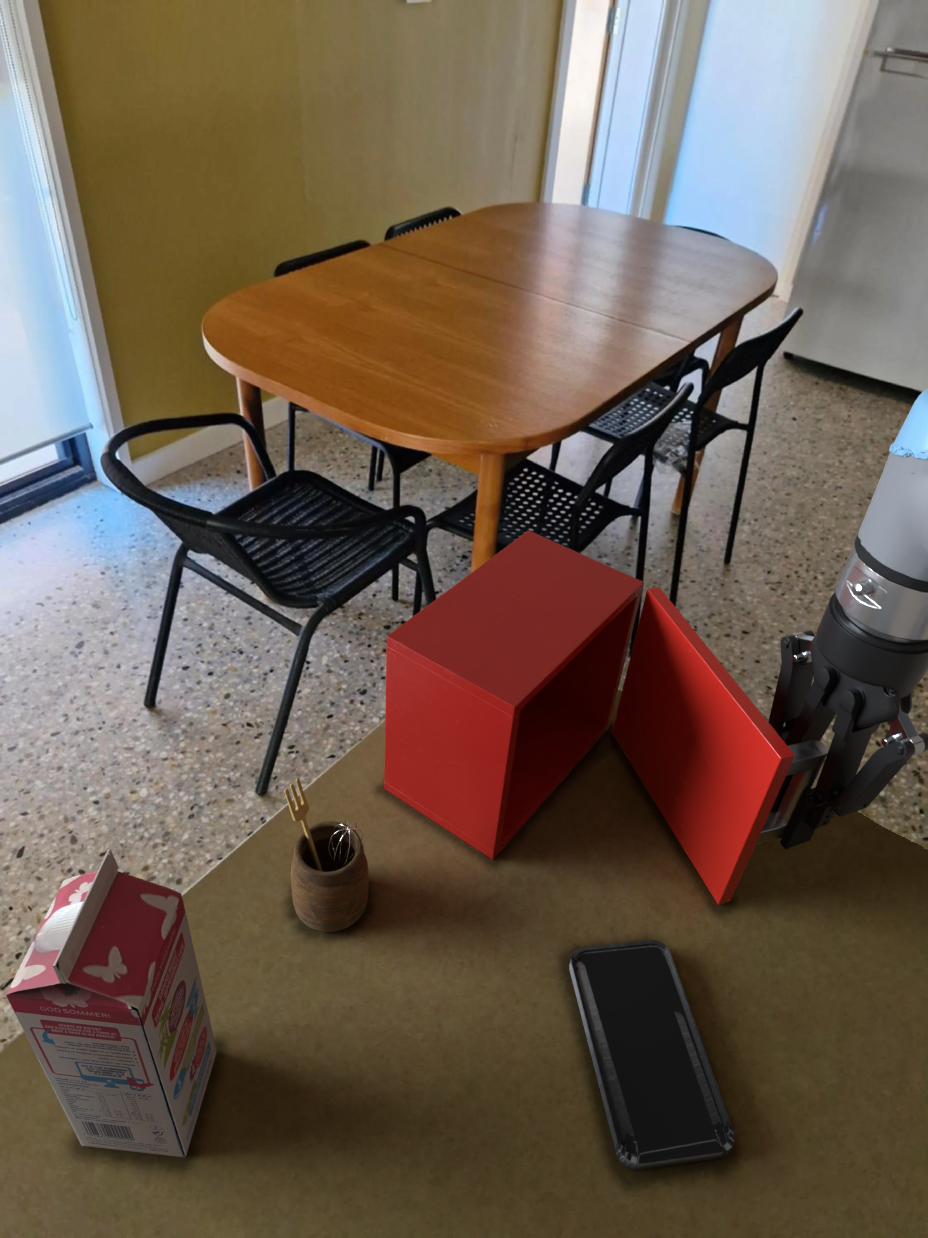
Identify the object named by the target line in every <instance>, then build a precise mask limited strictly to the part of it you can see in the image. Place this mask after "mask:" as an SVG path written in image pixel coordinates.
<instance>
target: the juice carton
mask: <svg viewBox="0 0 928 1238" xmlns="http://www.w3.org/2000/svg"><path fill="white" fill-rule="evenodd" d="M183 899H184V898H183V895H182V893H181V892H180V891H178V890H175V889H172V888H170V887H167V886H164V885H161V884H158V883H155V882H152V881H149V880H146V879H143V878H139V877H137V876H134V875H132V874H131V875H130V874H128V873H125V872H122V871H119V865H118V863H117V860H116V858H115V856H114V854H113V851H112V849H107V851H106V852H105V855H104V857H103V859H102V860H101V863H100V866H99V868H98V870H97V871H93V872H88V873H83V874H79V875H74V876H71V877H70V878H66V879H64V880H63V881H62V882H61V885H60V886H59V889H58V891H57V892H56V895H55V896H54V899H53V901H52V902H51V905H50V906H49V908H48V911H47V912H46V914H45V917H44V918H43V920H42V922H41V924H40V926H39V928H38V930H37V932H36V934H35V936H34V938H33V940H32V942H31V944H30V946H29V948H28V949H27V952H26V954H25V955H24V958H23V960H22V962H21V964H20V966H19V967H18V969H17V972H16V974H15V975H14V977H13V980H12V981H11V984H10V985H9V987H8V989H7V991H6V994H5V996H6V999H7V1000H8V1002H9V1005H10V1006H11V1008H12V1010H13V1012H14V1014H15V1017H16V1019H17V1020H18V1023H19V1024H20V1027H21V1028H22V1030H23V1032H24V1034H25V1036H26V1038H27V1040H28V1042H29V1044H30V1046H31V1048H32V1050H33V1052H34V1054H35V1057H36V1058H37V1060H38V1062H39V1064H40V1067H41V1068H42V1070H43V1072H44V1074H45V1077H46V1079H47V1080H48V1082H49V1084H50V1086H51V1088H52V1090H53V1092H54V1094H55V1096H56V1098H57V1100H58V1102H59V1104H60V1106H61V1108H62V1110H63V1112H64V1114H65V1116H66V1118H67V1120H68V1122H69V1123H70V1126H71V1128H72V1130H73V1132H74V1134H75V1136H76V1138H77V1140H78V1142H79V1143H80V1146H82V1147H89V1148H100V1149H106V1150H107V1149H108V1150H115V1151H116V1150H117V1151H124V1152H125V1151H126V1152H133V1153H134V1152H135V1153H141V1154H142V1153H143V1154H152V1155H159V1156H168V1157H169V1156H170V1157H178V1158H187V1154H188V1152H189V1148H190V1145H191V1140H192V1137H193V1134H194V1131H195V1127H196V1124H197V1121H198V1117H199V1113H200V1110H201V1107H202V1103H203V1100H204V1097H205V1093H206V1090H207V1086H208V1083H209V1080H210V1077H211V1073H212V1069H213V1066H214V1063H215V1061H216V1060H215V1059H216V1056H217V1053H218V1051H217V1047H216V1042H215V1037H214V1032H213V1028H212V1023H211V1018H210V1014H209V1009H208V1005H207V1001H206V996H205V992H204V988H203V987H204V986H203V982H202V979H201V974H200V970H199V966H198V960H197V956H196V952H195V948H194V943H193V939H192V933H191V930H190V925H189V922H188V921H189V920H188V917H187V913H186V912H187V911H186V908H185V904H184V900H183Z"/></svg>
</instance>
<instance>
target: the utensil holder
mask: <svg viewBox="0 0 928 1238" xmlns="http://www.w3.org/2000/svg"><path fill="white" fill-rule="evenodd" d="M295 784H296V787H295ZM295 784H294V783H290V784H289V788H290V791H289V789H288V788H285V789H284V796H285V799H286V801H287V806H288V808H289V811H290V815H291V819H292V820H293V822H300V824H301V826H302V830H303V831H302V833H301V834H300V835H299V836H298V838H297V840H296V842H295V845H294V849H293V858H292V862H291V866H290V886H291V887H290V888H291V897H292V898H291V899H292V904H293V908H294V911H295V913H296V915H297V917H298V918H299V920H300V921H301V922H302V923H303V924H305V926H307V927H309V928H310V929H312V930H315V931H318V932H322V933H333V932H340V931H342V930H345V929H347V928H349V927H350V926H352V925H354V924H355V923H356V922H357V921H358V920H359V919H360V918H361V916H362V915H363V913H364V912H365V910H366V907H367V903H368V900H369V879H370V878H369V863H368V859H367V856H366V853H365V849H364V845H363V841H362V840H363V835H364V834H363V832H362V830H360V829H358V828H357V827H358V824H357V823H356V822H355V823H353V824H351V825H349V821H348V820H345V821H344V823H343V822H339V821H333V820H331V821H329V820H328V821H320V822H317V823H315V824H313V825H311V826H309V825H308V821H307V818H306V817H307V814H308V813H309V812H308V811H309V810H310V807H309V806H310V805H309V803H308V800H307V798H306V795H305V792H304V789H303V786H302V783H301V780H300V778H298V777H297V778H296V779H295ZM296 788H297V790H296ZM297 791H298V793H297ZM290 792H291V794H292V797H291V794H290ZM298 795H299V796H298ZM292 798H293V800H292ZM293 801H294V803H293ZM346 823H347V824H346ZM354 825H355V827H353V826H354ZM357 831H359V832H360V833H361V836H360V835H359V833H358V832H357Z"/></svg>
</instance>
